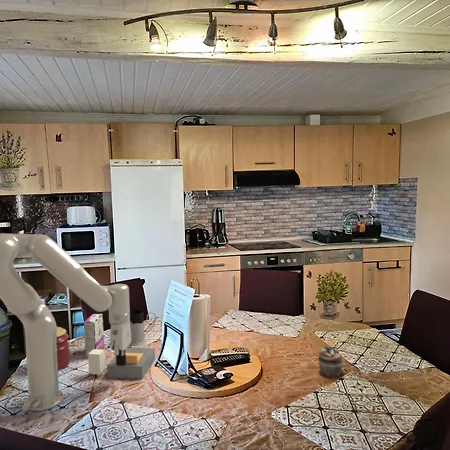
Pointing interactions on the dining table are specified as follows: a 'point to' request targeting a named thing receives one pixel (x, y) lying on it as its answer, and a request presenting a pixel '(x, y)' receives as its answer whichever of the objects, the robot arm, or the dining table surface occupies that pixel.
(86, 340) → the candy bar box
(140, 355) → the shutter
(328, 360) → the cupcake
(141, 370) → the socket
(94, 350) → the block
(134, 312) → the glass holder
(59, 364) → the canister
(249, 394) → the dining table surface
